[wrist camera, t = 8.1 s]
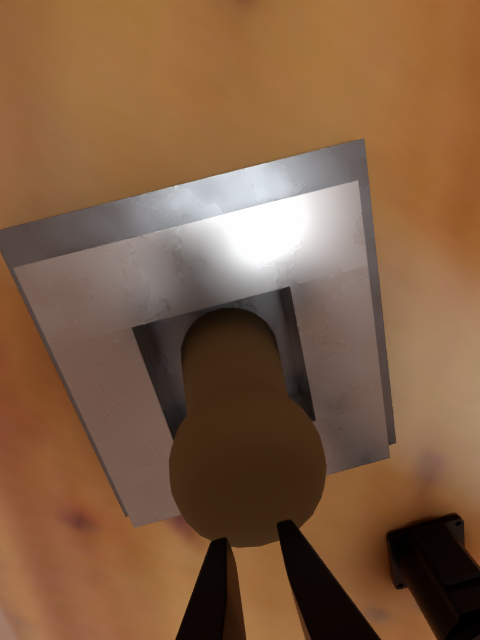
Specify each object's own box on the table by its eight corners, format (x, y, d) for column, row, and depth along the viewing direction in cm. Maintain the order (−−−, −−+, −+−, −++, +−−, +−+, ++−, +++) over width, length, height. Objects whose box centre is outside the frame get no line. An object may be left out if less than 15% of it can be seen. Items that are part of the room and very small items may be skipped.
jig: (388, 434, 24) (423, 474, 20) (128, 505, 23) (113, 560, 20) (355, 143, 18) (396, 120, 14) (3, 231, 17) (-55, 233, 13)
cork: (248, 411, 21) (289, 601, 10) (163, 375, 19) (111, 550, 9) (296, 334, 20) (396, 461, 9) (208, 289, 18) (207, 378, 8)
